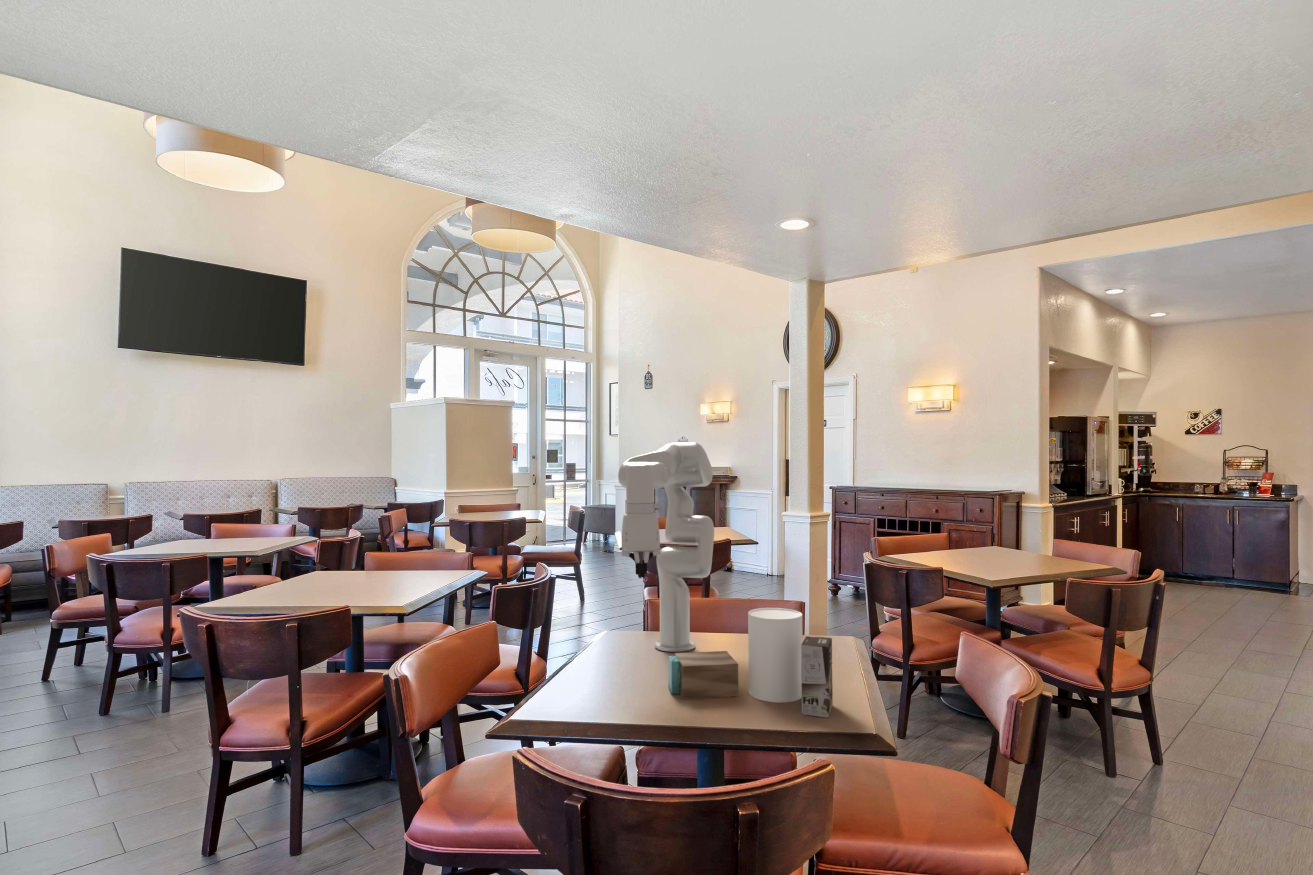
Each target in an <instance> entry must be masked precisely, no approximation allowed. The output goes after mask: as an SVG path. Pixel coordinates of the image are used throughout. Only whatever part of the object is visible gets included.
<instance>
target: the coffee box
mask: <svg viewBox="0 0 1313 875" xmlns="http://www.w3.org/2000/svg"><path fill="white" fill-rule="evenodd" d="M803 639H804V640H803V643H802V644H801V681H802V698H801V715H805V716H813V717H819V718H827V719H828V718H829V717H830V714H831V711H832V709H833V705H834V704H833V702H834V701H833V700H834V698H833V697H834V695H833V694H834V692H833V638H832V637H823V636H822V637H821V636H807V635H806V636H805V637H804V638H803Z"/></svg>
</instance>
